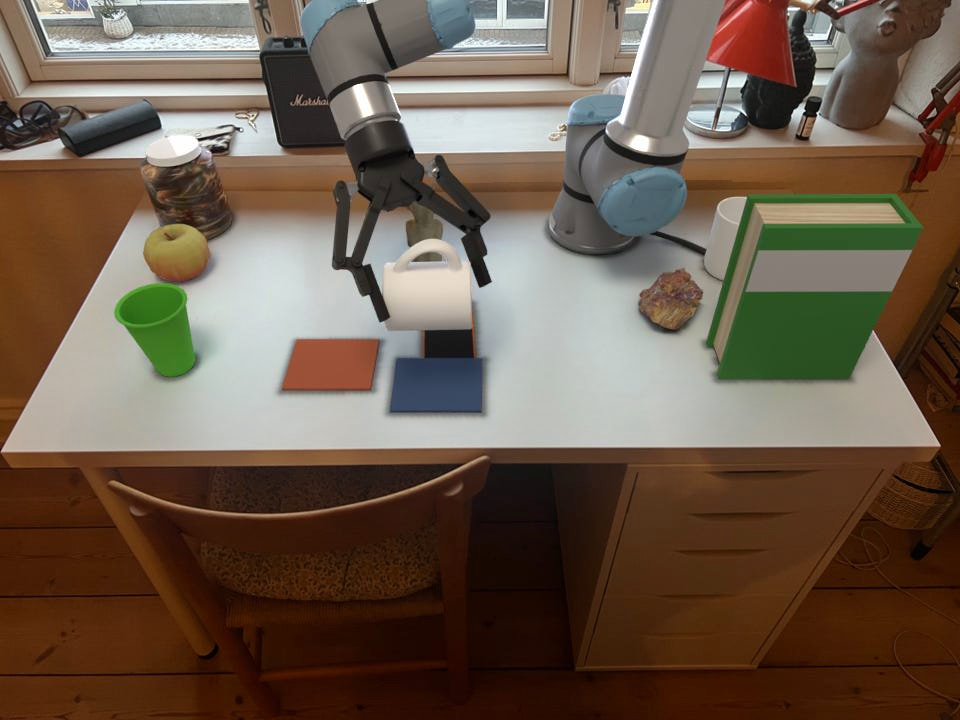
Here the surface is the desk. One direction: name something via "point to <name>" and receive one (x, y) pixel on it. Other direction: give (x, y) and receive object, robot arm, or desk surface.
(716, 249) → the mug
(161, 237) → the apple
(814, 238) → the hardback book
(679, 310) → the mineral specimen
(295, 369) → the terracotta mat
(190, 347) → the cup
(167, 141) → the jar
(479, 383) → the blue mat
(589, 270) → the desk surface
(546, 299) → the desk surface
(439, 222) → the sculpture
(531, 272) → the desk surface
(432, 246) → the mug
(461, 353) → the smartphone
